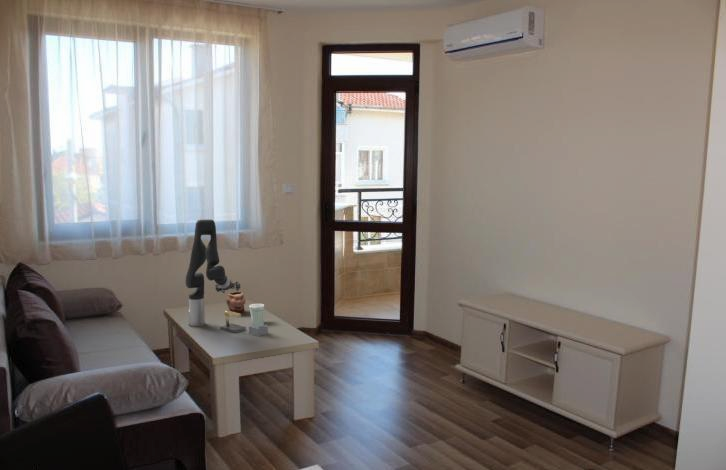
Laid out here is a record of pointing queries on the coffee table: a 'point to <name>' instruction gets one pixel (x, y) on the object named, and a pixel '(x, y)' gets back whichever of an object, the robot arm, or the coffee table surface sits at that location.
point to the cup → (254, 306)
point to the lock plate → (233, 328)
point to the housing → (258, 330)
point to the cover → (258, 318)
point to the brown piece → (231, 315)
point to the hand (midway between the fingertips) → (230, 290)
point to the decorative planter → (236, 302)
